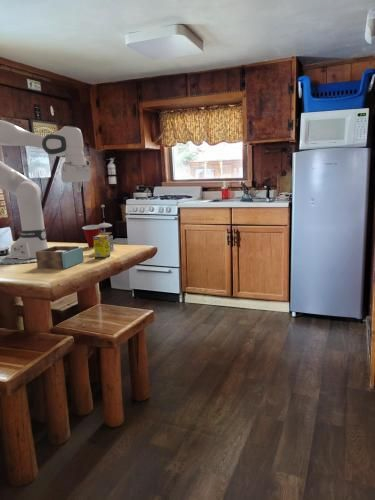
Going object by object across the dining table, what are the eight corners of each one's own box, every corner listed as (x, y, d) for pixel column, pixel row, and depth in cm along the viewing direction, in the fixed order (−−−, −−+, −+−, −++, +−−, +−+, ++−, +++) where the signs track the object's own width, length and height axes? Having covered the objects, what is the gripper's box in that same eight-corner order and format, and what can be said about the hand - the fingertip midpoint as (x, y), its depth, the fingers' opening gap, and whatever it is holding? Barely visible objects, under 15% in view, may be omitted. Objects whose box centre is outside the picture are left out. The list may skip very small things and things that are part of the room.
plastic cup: (81, 248, 221) (79, 227, 218) (87, 245, 231) (85, 225, 229) (100, 247, 220) (98, 227, 218) (105, 244, 231) (103, 224, 228)
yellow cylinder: (106, 258, 190) (104, 236, 188) (94, 258, 191) (92, 236, 189) (110, 256, 196) (109, 234, 194) (99, 256, 197) (98, 234, 195)
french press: (117, 248, 215) (113, 203, 210) (112, 252, 203) (109, 205, 199) (99, 249, 215) (95, 204, 210) (94, 253, 204) (90, 206, 199)
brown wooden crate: (37, 268, 175) (35, 251, 174) (56, 261, 189) (54, 246, 187) (62, 268, 171) (60, 252, 170) (79, 261, 185) (78, 246, 184)
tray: (40, 267, 174) (39, 253, 173) (60, 260, 188) (58, 247, 187) (65, 268, 171) (64, 253, 169) (83, 261, 185) (82, 247, 183)
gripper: (68, 161, 170) (71, 192, 173) (92, 162, 190) (94, 190, 192) (56, 161, 172) (59, 193, 175) (80, 162, 191) (83, 191, 194)
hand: (77, 191), depth 183 cm, fingers closed
